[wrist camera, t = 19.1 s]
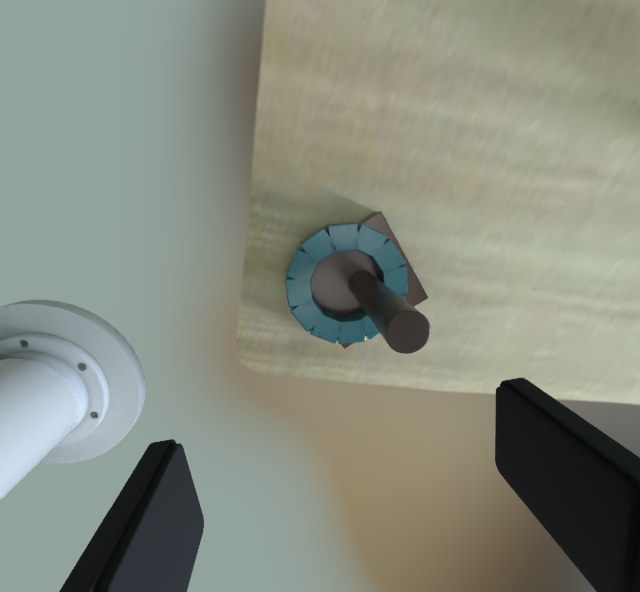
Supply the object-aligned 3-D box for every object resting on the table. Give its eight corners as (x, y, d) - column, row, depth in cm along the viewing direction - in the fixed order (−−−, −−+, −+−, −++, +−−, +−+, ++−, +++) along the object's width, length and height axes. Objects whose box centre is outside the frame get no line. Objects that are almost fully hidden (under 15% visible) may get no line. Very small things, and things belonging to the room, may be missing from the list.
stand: (342, 342, 31) (376, 436, 18) (291, 265, 29) (288, 309, 16) (422, 293, 30) (517, 354, 17) (376, 211, 28) (447, 209, 15)
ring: (330, 355, 30) (333, 364, 28) (263, 270, 27) (261, 274, 25) (420, 292, 29) (429, 298, 27) (359, 198, 26) (364, 197, 24)
